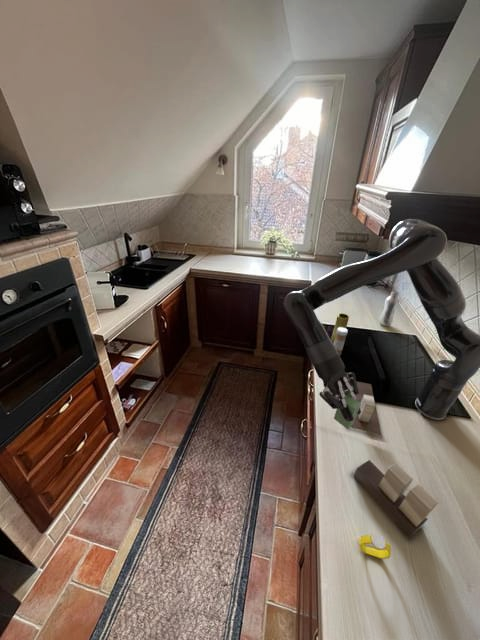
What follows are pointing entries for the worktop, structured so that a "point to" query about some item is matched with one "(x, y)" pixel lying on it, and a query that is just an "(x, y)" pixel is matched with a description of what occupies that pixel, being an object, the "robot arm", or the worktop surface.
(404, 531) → the stand
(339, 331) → the sprinkles bottle
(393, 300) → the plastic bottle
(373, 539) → the watch
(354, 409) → the green flat piece
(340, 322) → the vase
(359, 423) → the near board
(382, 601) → the worktop surface
